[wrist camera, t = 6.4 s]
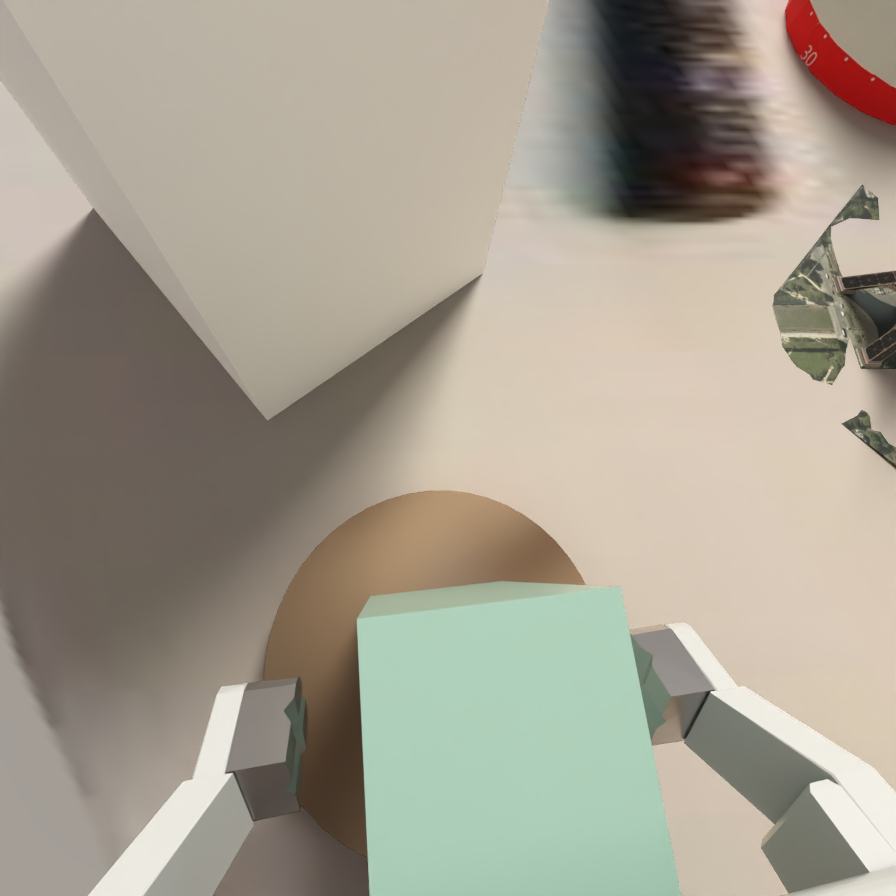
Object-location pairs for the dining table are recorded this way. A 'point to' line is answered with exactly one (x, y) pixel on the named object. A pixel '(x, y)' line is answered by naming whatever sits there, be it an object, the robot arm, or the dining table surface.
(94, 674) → the dining table surface
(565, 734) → the mint rectangular pillar
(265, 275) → the milk
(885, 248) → the dining table surface
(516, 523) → the post stand
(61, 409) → the dining table surface
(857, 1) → the kitchen timer
